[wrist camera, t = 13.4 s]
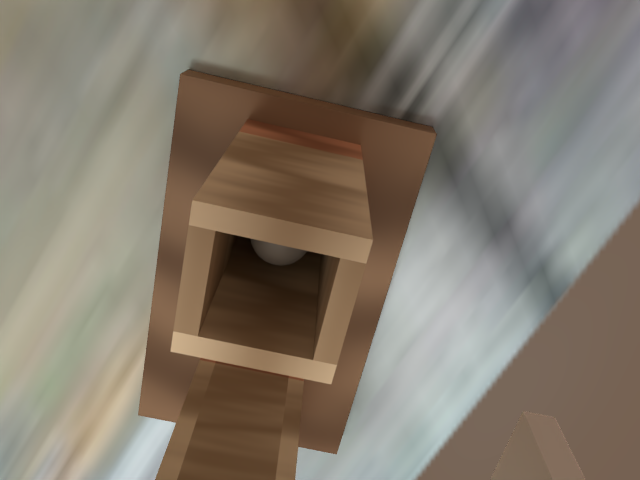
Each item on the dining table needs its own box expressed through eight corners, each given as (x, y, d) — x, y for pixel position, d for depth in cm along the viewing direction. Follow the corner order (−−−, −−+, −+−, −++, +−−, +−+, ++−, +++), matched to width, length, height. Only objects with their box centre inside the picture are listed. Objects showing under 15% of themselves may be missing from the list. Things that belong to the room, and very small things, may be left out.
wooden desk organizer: (188, 69, 27) (80, 130, 16) (432, 126, 28) (494, 224, 17) (145, 398, 36) (53, 595, 24) (336, 436, 36) (334, 645, 25)
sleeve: (229, 223, 29) (170, 351, 19) (247, 118, 27) (192, 199, 17) (334, 246, 29) (331, 384, 19) (360, 144, 27) (373, 240, 17)
